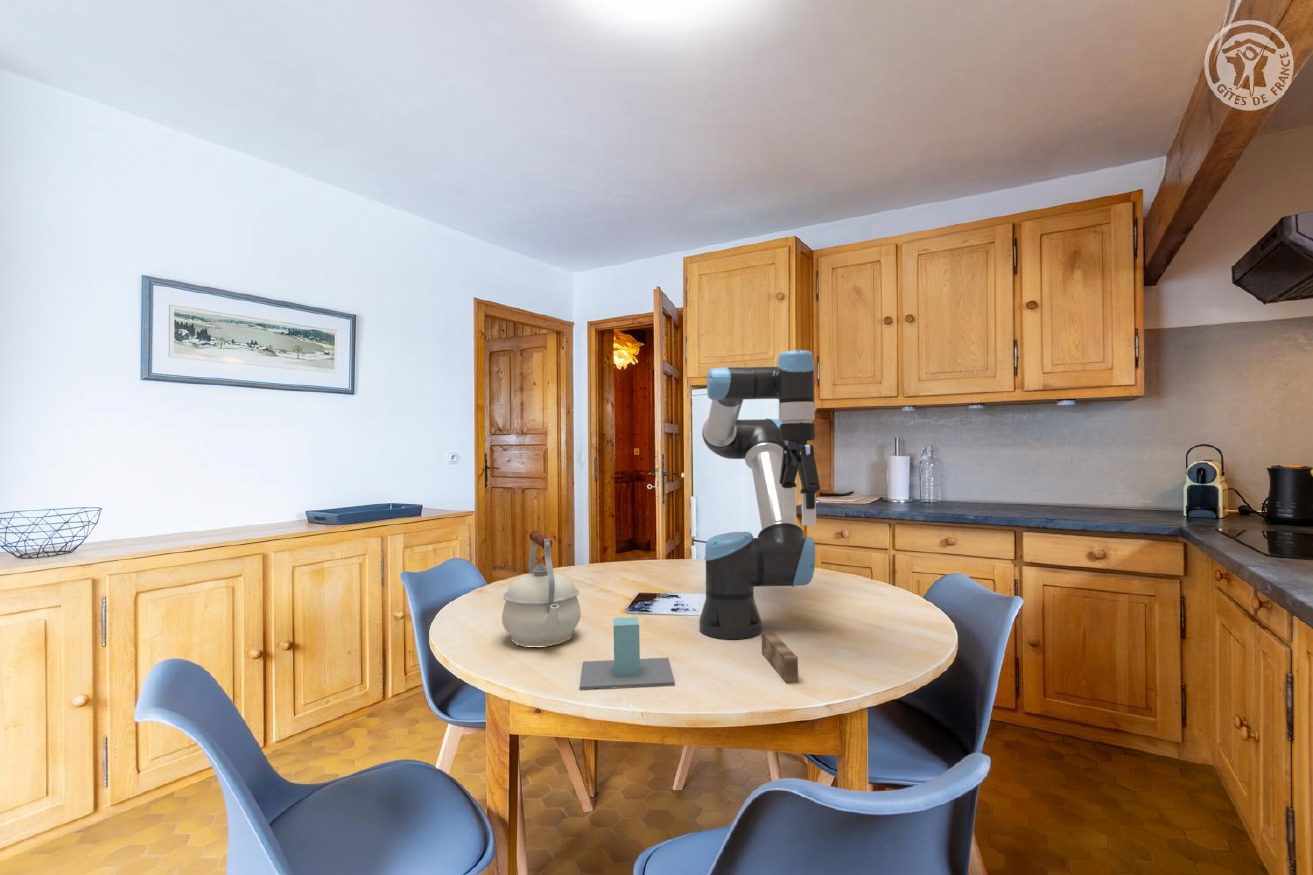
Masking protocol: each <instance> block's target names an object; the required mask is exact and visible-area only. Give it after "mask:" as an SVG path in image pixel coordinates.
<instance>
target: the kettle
mask: <svg viewBox="0 0 1313 875" xmlns="http://www.w3.org/2000/svg"><path fill="white" fill-rule="evenodd" d="M529 539H530V541H531V549H530V555H529V562H528V563H529V564H528V570H529V571H528V572H529V574H526V575H523V576H521V577H519V578H517V579H515V580H513V582H512V583H511V584H510V585H509V587H508V589H507V591H506V592H505V593H504V594H503V596H502V597H503V600H505V602H504V605H503V609H502V614H501V615H502V616H501V621H502V626H503V628H504V629H505V631H506V633H508V634H509V635H510V636H511V641H512V640H513V641H514V642H515V643H517V644H519V645H523V646H552V645H556V644H560V643H562V644H564V643H563V642H565V641H566V642H568V641H569V640H571V638H573V637H572V636H573V631H574V630H575V629H576V627H577V626H578V624H579V622H580V619H581V607H580V603H579V600H578V595H579V594H580V593H579V592H580V591H579V589H578V588H577V587H575V585H574V583H573V581H572V580H571V579H570V578H568V577H567V576H565V575H562V574H559V573H555V572H554V568H553V562H552V553H551V548H552V547H553V540H552V539H551V538H550V537H547V536H546V535H544V534H543V533H541V532H539V530H532V531H531V532H530V533H529ZM538 546H539V547H541V548H542V549H543V550H544V561H545V562H544V563H545V564H544V563H541V562H540V563H538V564H537V565H535V564H536V563H535V562H536V555H537V550H538V549H537V548H538ZM567 640H568V641H567ZM566 642H565V643H566ZM560 645H561V644H560ZM556 646H557V645H556ZM552 647H553V646H552Z"/></svg>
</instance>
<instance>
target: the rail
mask: <svg viewBox="0 0 1313 875" xmlns="http://www.w3.org/2000/svg"><path fill="white" fill-rule="evenodd" d="M761 654H762V656H763V658H765V660H766V661H767V662H768V664H770V665H771V667H772V668H773V670H775V672H776V673H777V674H778V675H779V677H780V678H781V679H782V680H783V682H784V683H785V684H798V683H799V663H798V662H799V661H798V660H799V659H798V656H797V655H796V654H795V653H794V651H792V650H791V649H790V648H789V646H787V645H786V644H785V643H784V642H783V641H782V640H781V638H780V637H779V636H777V634H776V633H775V632H774V631H773V630H769V631H767V630H766V631H761Z"/></svg>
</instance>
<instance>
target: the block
mask: <svg viewBox="0 0 1313 875" xmlns="http://www.w3.org/2000/svg"><path fill="white" fill-rule="evenodd" d="M639 622H640V621H639V617H637V616H635V617H634V616H633V617H613V624H612V625H613V660H614V676H615V677H622V676H640V659H641V658H640V656H641V655H640V654H641V649H640V623H639Z"/></svg>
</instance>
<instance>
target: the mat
mask: <svg viewBox="0 0 1313 875" xmlns="http://www.w3.org/2000/svg"><path fill="white" fill-rule="evenodd" d="M670 662H671V661H670V660H669V657H651V658H650V657H649V658H640V676H622V677H615V676H614V659H607V660H588V661H586V660H585V661H584V660H583V661H582V667H581V673H580V682H579V690H580V689H590V690H592V689H591V688H611V689H614V688H613V687H631V688H646V687H645V686H651V687H664V686H663V685H672V686H676V681H675V679H674V678H675V677H674V674H673V669H672V666H671V663H670Z"/></svg>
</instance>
